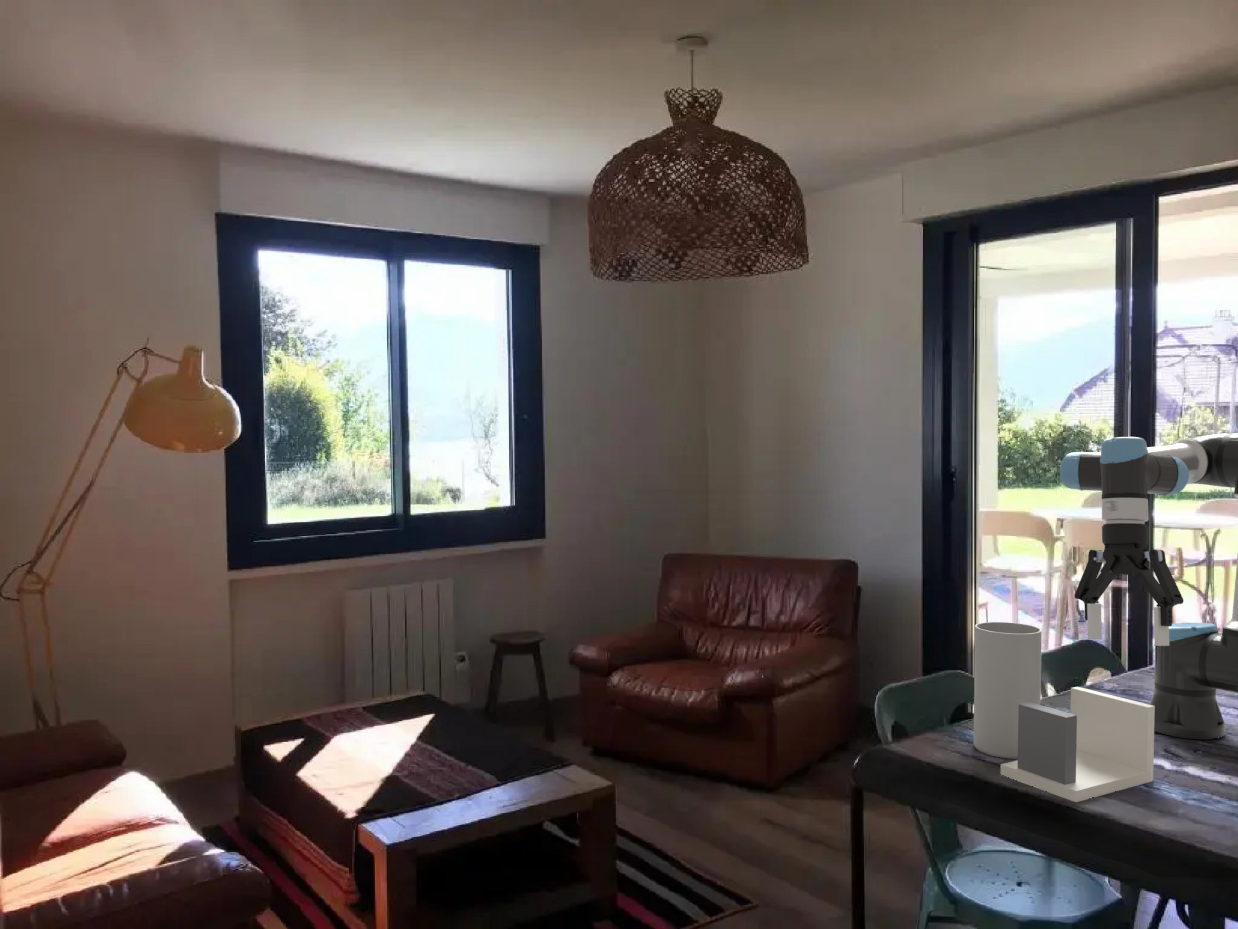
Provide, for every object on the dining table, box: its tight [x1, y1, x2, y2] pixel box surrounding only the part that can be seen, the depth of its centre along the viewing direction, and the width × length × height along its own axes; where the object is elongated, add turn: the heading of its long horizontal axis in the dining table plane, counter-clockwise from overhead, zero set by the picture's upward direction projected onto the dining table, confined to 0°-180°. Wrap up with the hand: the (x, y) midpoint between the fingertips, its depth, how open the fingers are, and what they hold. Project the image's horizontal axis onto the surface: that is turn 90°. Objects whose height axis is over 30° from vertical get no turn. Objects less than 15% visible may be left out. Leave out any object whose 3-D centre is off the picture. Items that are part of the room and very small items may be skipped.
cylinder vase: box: [973, 621, 1043, 760], centre depth 201 cm, size 12×12×25 cm
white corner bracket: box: [1000, 686, 1155, 803], centre depth 186 cm, size 22×16×14 cm
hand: (1127, 642), depth 177 cm, fingers open, 13 cm apart
